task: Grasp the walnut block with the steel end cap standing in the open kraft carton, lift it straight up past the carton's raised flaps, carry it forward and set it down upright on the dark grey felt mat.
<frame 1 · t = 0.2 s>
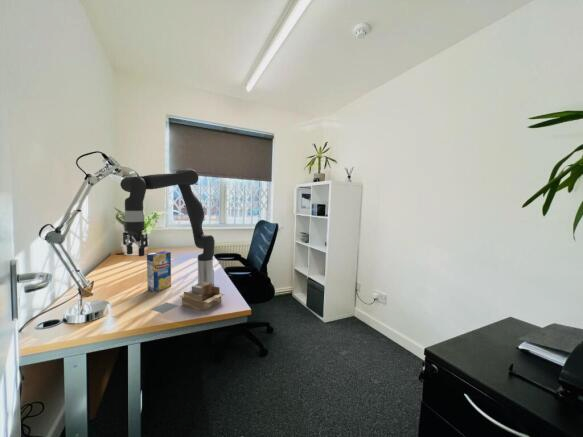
hand: (135, 255, 107), 29 cm above the table, fingers open, 8 cm apart
walnut block: (202, 303, 121), point 1 cm above the table, touching kraft carton
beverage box: (159, 288, 143), on the table
felt mat: (164, 308, 116), on the table
kraft carton: (202, 304, 121), on the table
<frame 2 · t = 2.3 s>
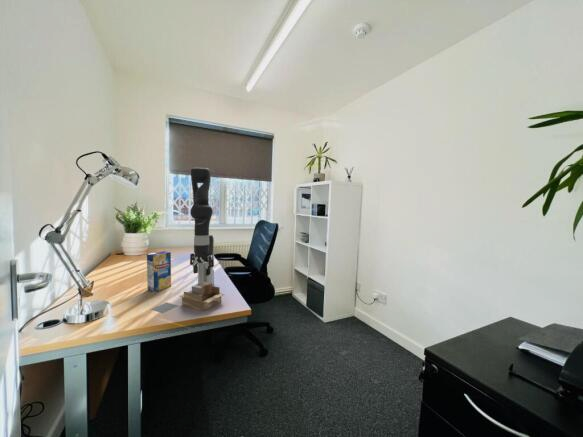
hand: (201, 274, 120), 16 cm above the table, fingers open, 8 cm apart
nothing on the table moved.
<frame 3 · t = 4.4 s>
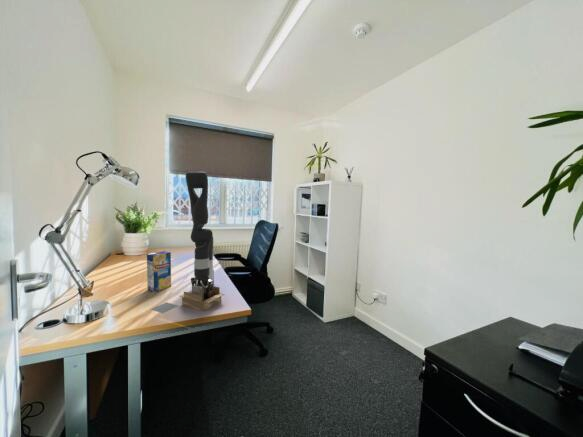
hand: (202, 297, 121), 3 cm above the table, fingers closed on walnut block, 5 cm apart
walnut block: (202, 303, 121), point 1 cm above the table, touching gripper, kraft carton
everything else where it was.
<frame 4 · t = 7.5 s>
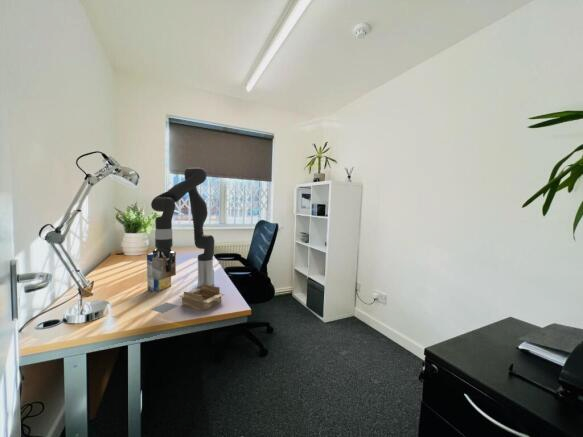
hand: (164, 271, 115), 19 cm above the table, fingers closed on walnut block, 5 cm apart
walnut block: (164, 276, 115), point 16 cm above the table, touching gripper
everything else where it was.
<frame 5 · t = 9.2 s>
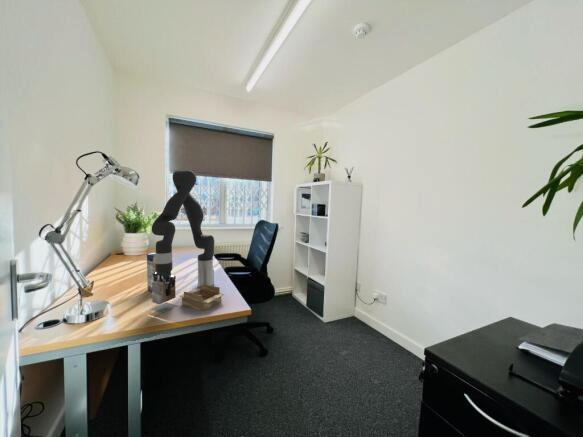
hand: (164, 294, 115), 7 cm above the table, fingers closed on walnut block, 5 cm apart
walnut block: (164, 300, 115), point 5 cm above the table, touching gripper
everything else where it was.
when the fingers open (5 cm above the table, at t = 10.5 s): walnut block drops 1 cm, resting on felt mat.
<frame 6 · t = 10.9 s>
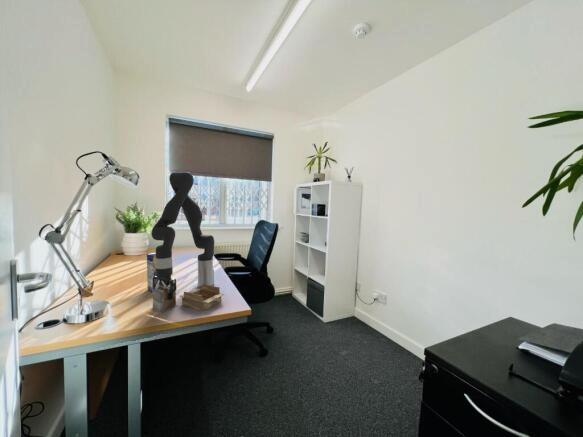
hand: (164, 297, 115), 6 cm above the table, fingers open, 8 cm apart
walnut block: (164, 307, 116), point 1 cm above the table, touching felt mat
everything else where it was.
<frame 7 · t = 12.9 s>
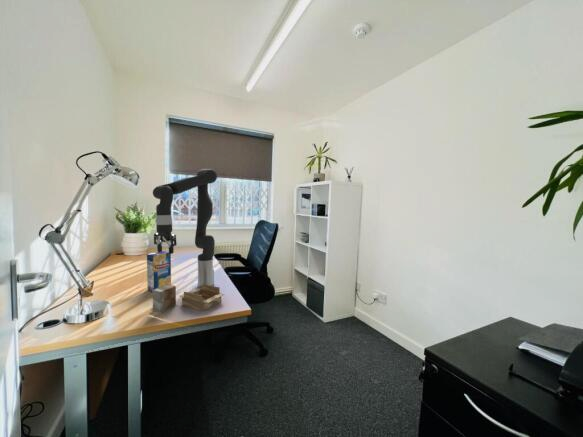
hand: (165, 252, 125), 26 cm above the table, fingers open, 8 cm apart
nothing on the table moved.
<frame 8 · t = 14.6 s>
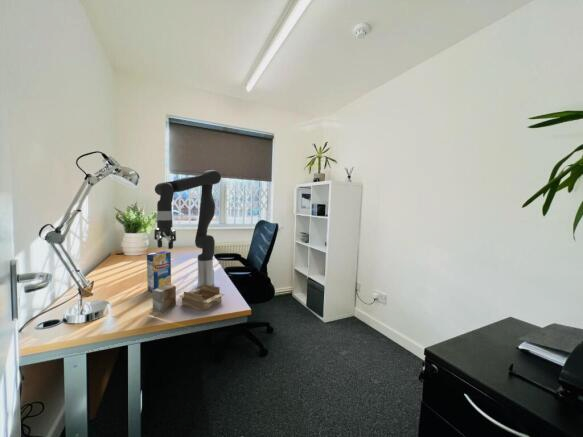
hand: (165, 248, 128), 28 cm above the table, fingers open, 8 cm apart
nothing on the table moved.
at the end: walnut block inside the target area on the felt mat (0.0 cm from its centre), point 0.6 cm above the felt mat's base; walnut block tilted 0°; walnut block touching felt mat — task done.
